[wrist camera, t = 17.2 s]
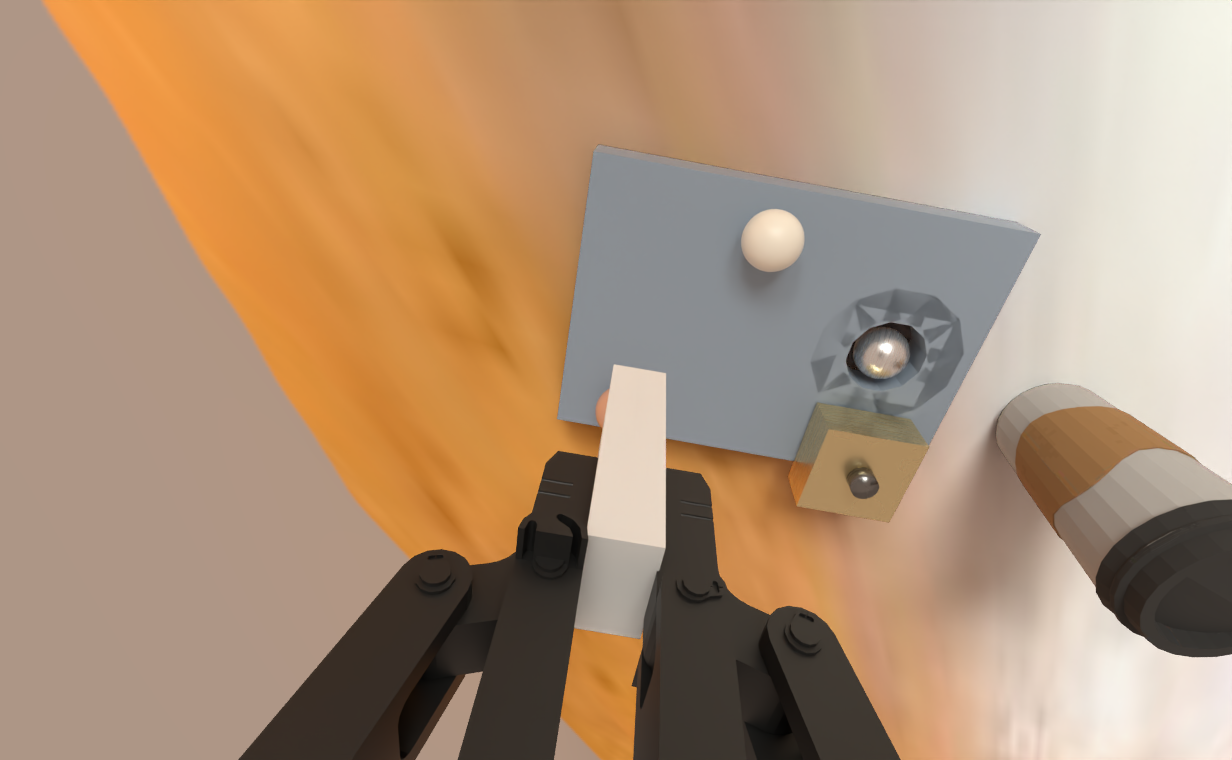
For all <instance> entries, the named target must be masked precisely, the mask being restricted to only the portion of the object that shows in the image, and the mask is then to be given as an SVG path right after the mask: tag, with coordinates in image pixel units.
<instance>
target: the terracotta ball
mask: <svg viewBox="0 0 1232 760" xmlns="http://www.w3.org/2000/svg"><path fill="white" fill-rule="evenodd" d="M609 389H610V388H609ZM609 389H607V390H606V391H605V392H604V393H603V394H602V395H601V396H600V397H599V399H598V401H597V404H596V409H595V415H596V419H597V422H598V424H599V426H600V427H601V428H602V429H603V423H604V417H605V412H606V406H607V400H608V395H609Z"/></svg>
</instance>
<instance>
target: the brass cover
mask: <svg viewBox="0 0 1232 760" xmlns="http://www.w3.org/2000/svg"><path fill="white" fill-rule="evenodd" d="M928 449H929V446H928V444H927V443H926V441H925V440H924V438H923V437H922V435H921V434H920V432H919V431H918V429H917V428H916V426H915V425H914V423H913V422H912V420H911V419H908V418H902V417H897V416H891V415H886V414H880V413H874V412H869V411H863V410H858V409H852V408H846V407H841V406H835V405H830V404H824V403H819V402H817V404H816V406H815V409H814V411H813V414H812V416H811V419H810V421H809V424H808V426H807V429H806V432H805V434H804V437H803V439H802V442H801V444H800V447H799V449H798V452H797V454H796V457H795V459H794V462H793V464H792V467H791V469H790V472H789V475H788V479H789V482H790V486H791V489H792V493H793V496H794V500H795V503H796V506H798V507H803V508H809V509H815V510H821V511H826V512H832V513H838V514H843V515H849V516H855V517H860V518H866V519H872V520H877V521H883V522H890V520H891V518H892V516H893V514H894V512H895V510H896V509H897V507H898V505H899V503H900V501H901V499H902V497H903V495H904V494H905V492H906V490H907V488H908V486H909V484H910V482H911V480H912V479H913V477H914V475H915V473H916V471H917V469H918V467H919V465H920V464H921V462H922V460H923V458H924V456H925V454H926V452H927V450H928Z"/></svg>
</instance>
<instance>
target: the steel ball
mask: <svg viewBox="0 0 1232 760" xmlns="http://www.w3.org/2000/svg"><path fill="white" fill-rule="evenodd" d="M853 358H854V362H855V364H856V366H857V367H858V369H859V370H860V371H861V372H862V373H864V374H865V375H867V376H869V377H871V378H875V379H887V378H891V377H893V376H895V375H897V374H899V373H900V372H901V371H902V370H903V369H904V368H905V367H906V365H907V364H908V362H909V358H910V347H909V344H908V341H907V340H906V338H905V337H904V336H903V335H902V334H901V333H900V332H898V331H897V330H895V329H892V328H889V327H876V328H872V329H869V330H867V331H866V332H865V333H863V334H862V335H861V336H860V337H859V338H858V339H857V341H856V343H855V345H854V348H853Z"/></svg>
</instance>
